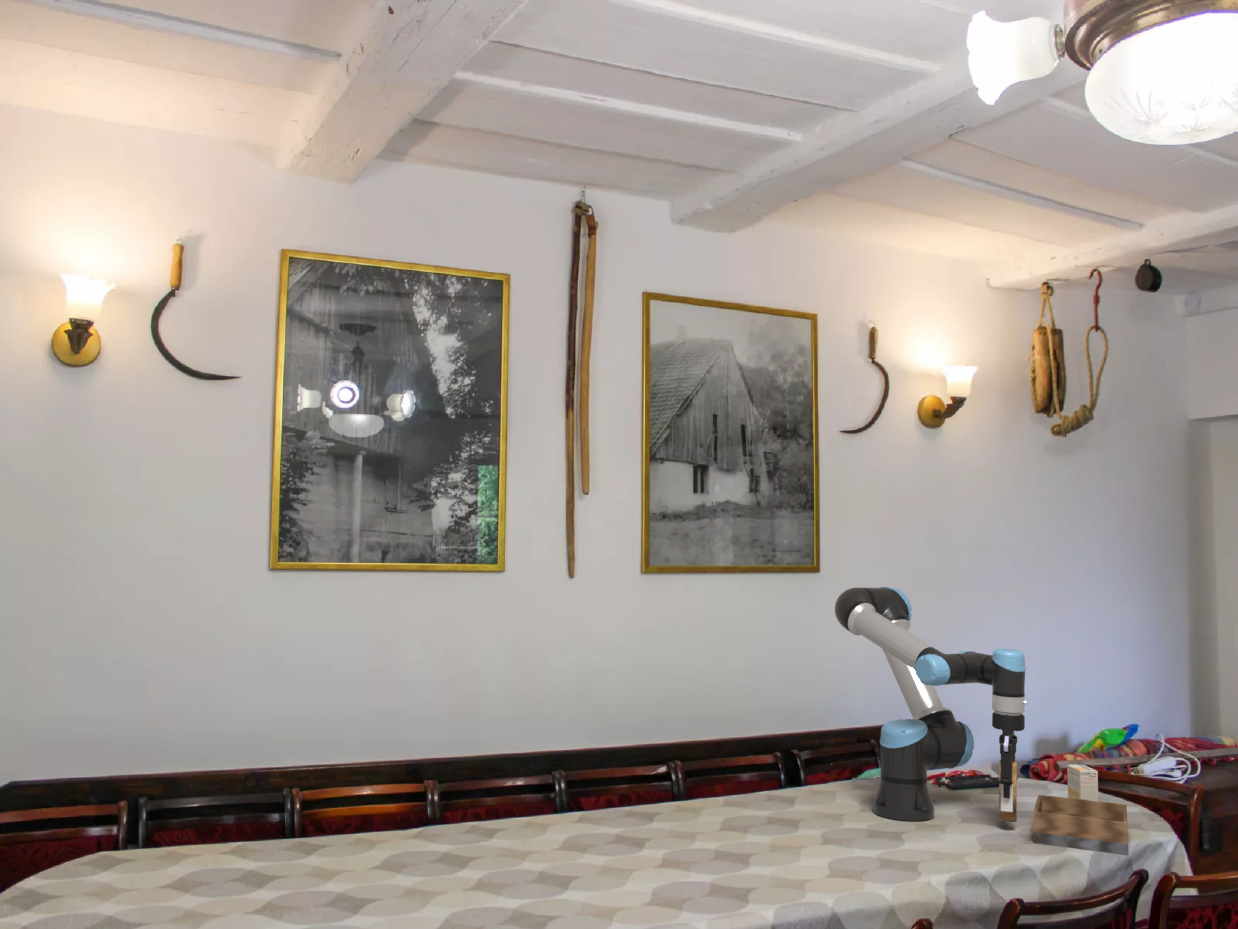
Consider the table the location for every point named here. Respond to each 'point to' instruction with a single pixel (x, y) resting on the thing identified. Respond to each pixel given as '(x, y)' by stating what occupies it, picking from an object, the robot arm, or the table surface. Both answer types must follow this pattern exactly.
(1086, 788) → the supplement box
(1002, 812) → the dowel
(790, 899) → the table surface
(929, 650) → the robot arm
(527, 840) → the table surface
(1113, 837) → the box
